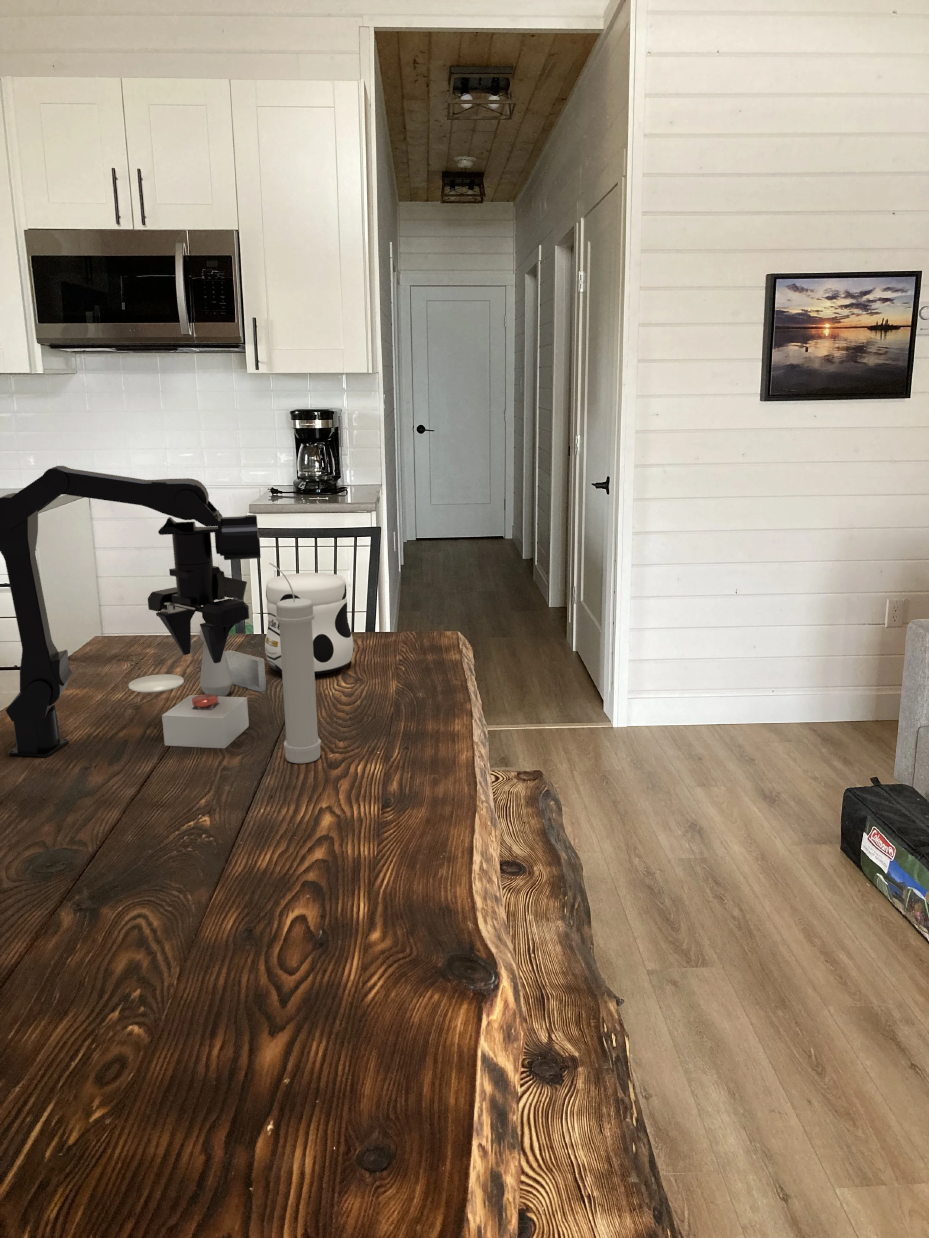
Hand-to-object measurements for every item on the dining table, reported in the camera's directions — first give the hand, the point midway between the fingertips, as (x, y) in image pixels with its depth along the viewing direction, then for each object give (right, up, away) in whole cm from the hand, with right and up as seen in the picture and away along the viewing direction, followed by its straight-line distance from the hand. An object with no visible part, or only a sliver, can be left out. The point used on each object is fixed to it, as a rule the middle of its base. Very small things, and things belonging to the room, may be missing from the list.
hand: (201, 658), depth 150 cm
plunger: (0, -11, +3) cm, 12 cm away
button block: (0, -13, +3) cm, 13 cm away
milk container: (+11, -4, +39) cm, 41 cm away
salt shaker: (-4, -8, +23) cm, 25 cm away
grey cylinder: (+17, -15, -6) cm, 23 cm away
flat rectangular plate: (0, -6, +28) cm, 29 cm away
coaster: (-17, -6, +30) cm, 35 cm away
